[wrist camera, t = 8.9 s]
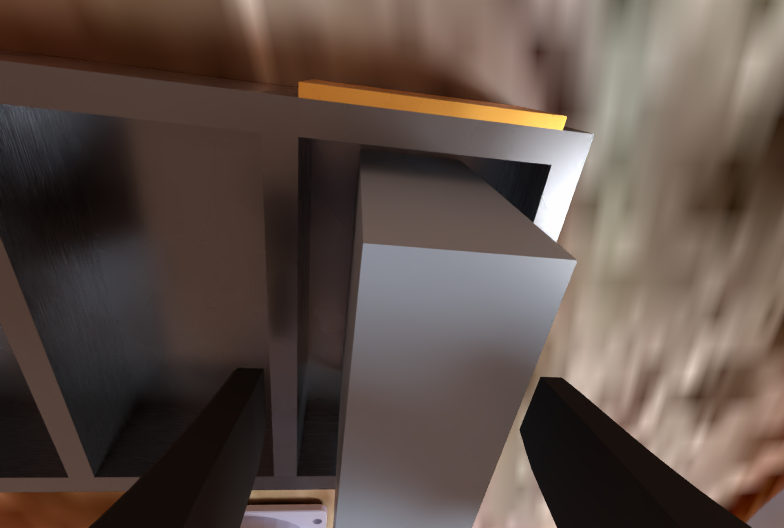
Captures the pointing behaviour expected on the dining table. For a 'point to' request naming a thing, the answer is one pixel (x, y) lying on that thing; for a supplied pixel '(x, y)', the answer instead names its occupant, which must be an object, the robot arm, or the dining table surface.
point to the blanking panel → (436, 340)
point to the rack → (204, 252)
